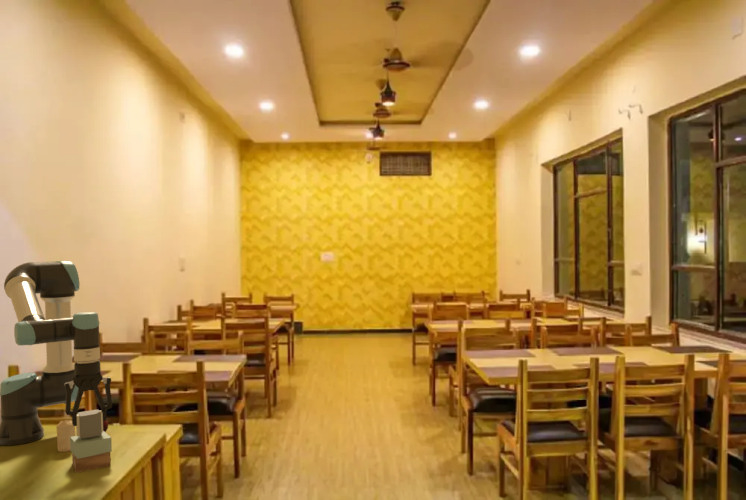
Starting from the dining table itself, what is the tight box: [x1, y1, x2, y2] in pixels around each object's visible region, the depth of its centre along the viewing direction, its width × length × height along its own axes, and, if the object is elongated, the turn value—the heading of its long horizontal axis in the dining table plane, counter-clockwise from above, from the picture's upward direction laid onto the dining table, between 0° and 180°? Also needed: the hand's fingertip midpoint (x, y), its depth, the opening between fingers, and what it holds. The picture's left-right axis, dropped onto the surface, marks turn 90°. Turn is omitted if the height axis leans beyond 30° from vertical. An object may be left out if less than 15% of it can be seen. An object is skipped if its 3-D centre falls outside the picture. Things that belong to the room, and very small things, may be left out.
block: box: [77, 408, 102, 439], centre depth 196 cm, size 6×6×7 cm
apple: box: [103, 419, 109, 433], centre depth 226 cm, size 7×8×8 cm
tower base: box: [71, 452, 112, 473], centre depth 196 cm, size 10×10×4 cm
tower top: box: [70, 431, 113, 459], centre depth 196 cm, size 10×10×4 cm
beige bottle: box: [56, 418, 76, 453], centre depth 212 cm, size 6×6×10 cm
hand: (89, 433), depth 196 cm, fingers closed on block, 6 cm apart
